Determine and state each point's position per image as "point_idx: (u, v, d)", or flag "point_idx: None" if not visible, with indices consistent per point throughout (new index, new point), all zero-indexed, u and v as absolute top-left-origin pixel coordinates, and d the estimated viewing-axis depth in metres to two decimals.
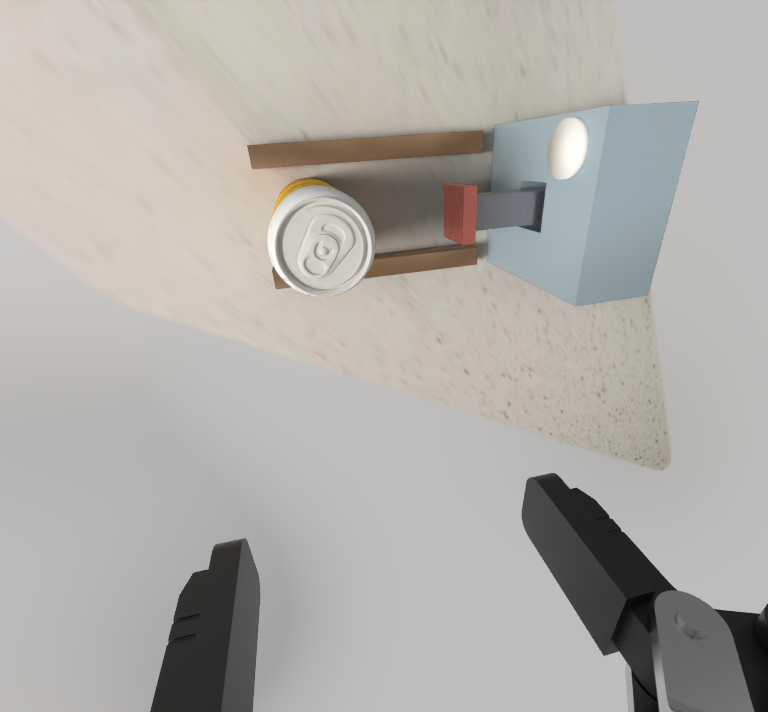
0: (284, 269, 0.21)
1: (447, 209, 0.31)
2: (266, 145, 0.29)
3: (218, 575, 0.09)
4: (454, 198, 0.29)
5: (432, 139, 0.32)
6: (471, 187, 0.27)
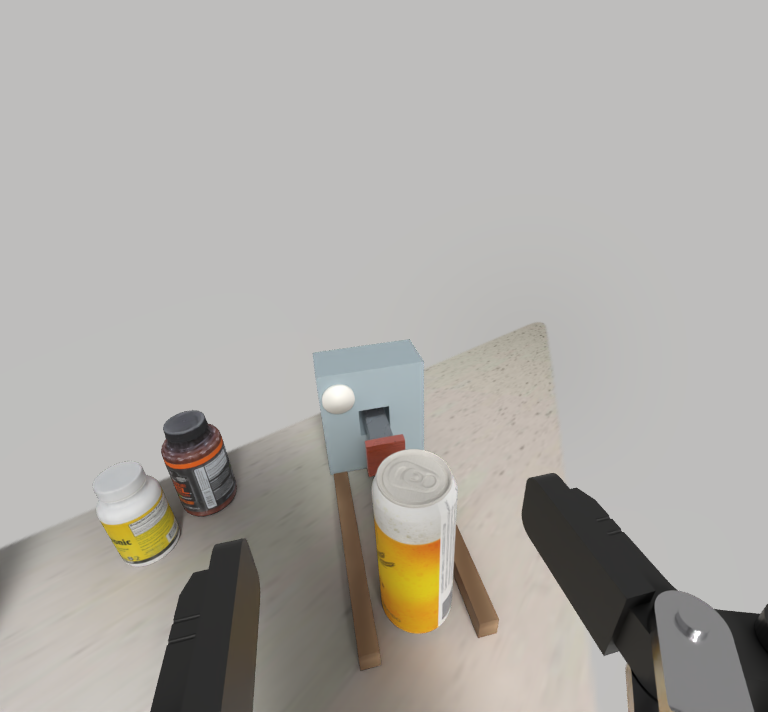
0: None
1: None
2: (356, 636, 0.30)
3: (218, 575, 0.09)
4: (375, 458, 0.40)
5: (341, 502, 0.41)
6: (366, 443, 0.39)
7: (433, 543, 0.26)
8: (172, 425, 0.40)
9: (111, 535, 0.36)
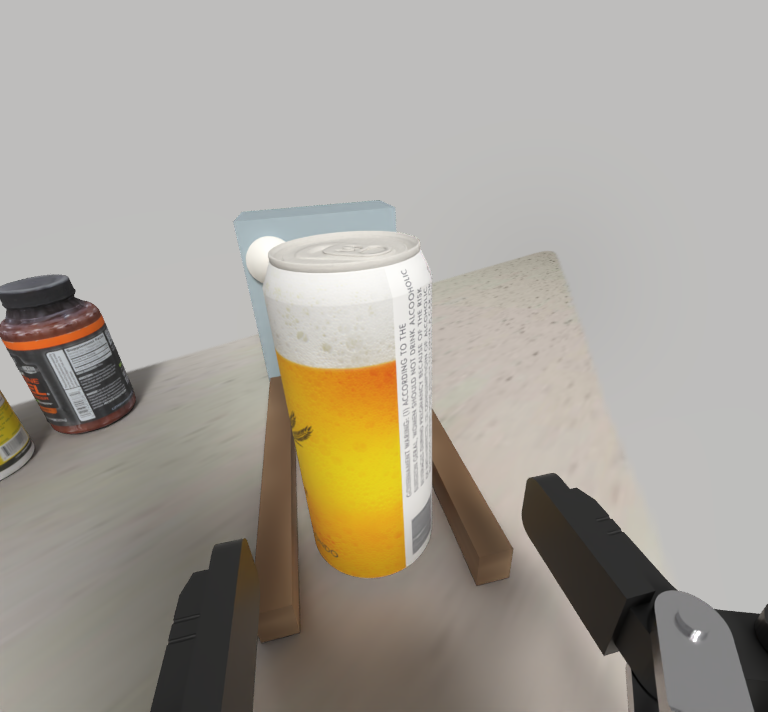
0: None
1: None
2: None
3: (218, 575, 0.09)
4: None
5: (273, 406, 0.28)
6: None
7: (381, 368, 0.13)
8: (12, 285, 0.26)
9: None
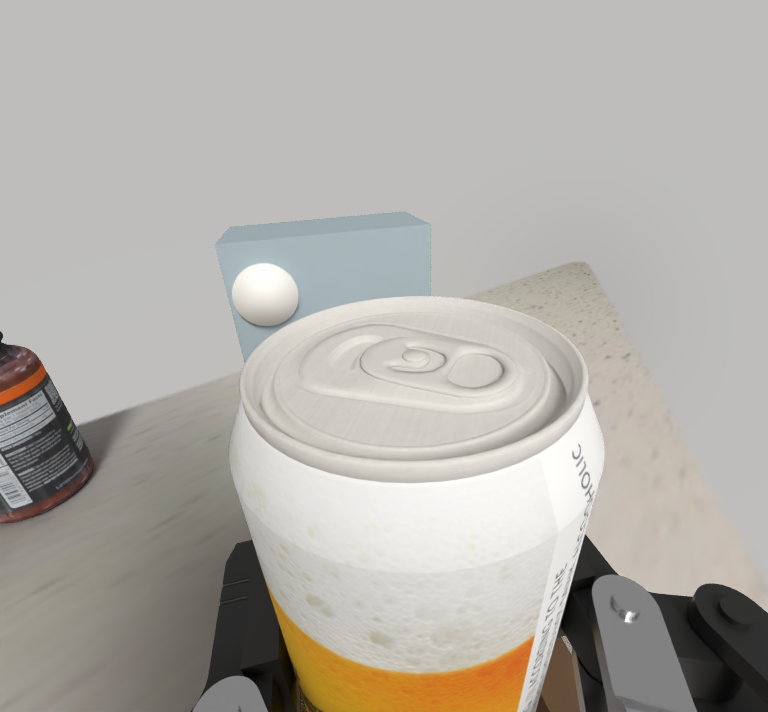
0: None
1: None
2: None
3: None
4: None
5: None
6: None
7: (503, 661, 0.05)
8: None
9: None
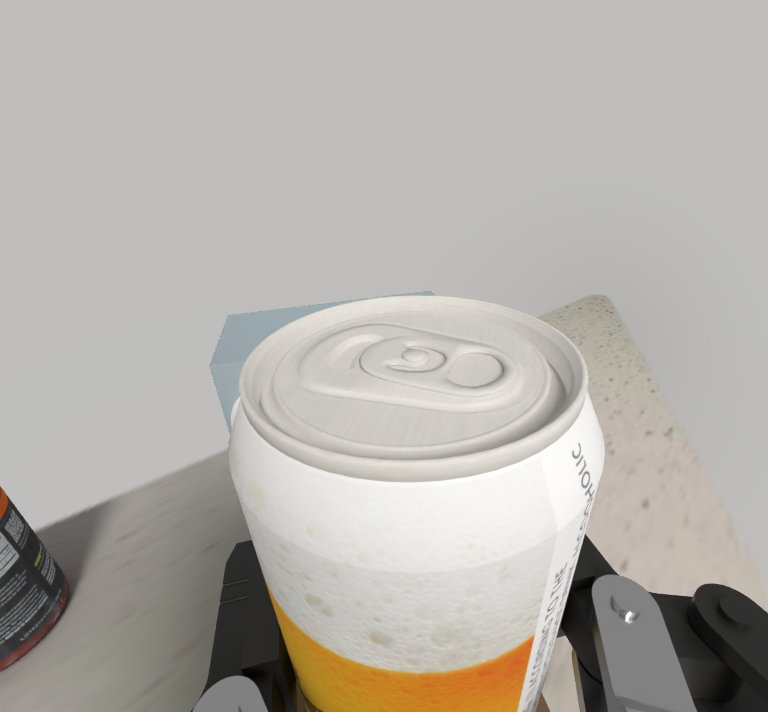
0: None
1: None
2: None
3: None
4: None
5: None
6: None
7: (503, 660, 0.05)
8: None
9: None
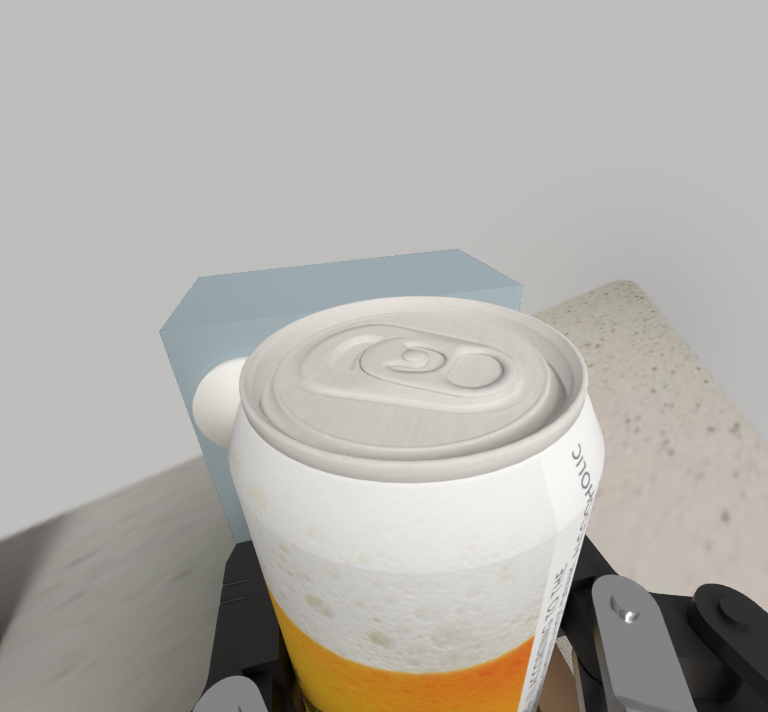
0: None
1: None
2: None
3: None
4: None
5: None
6: None
7: (503, 661, 0.05)
8: None
9: None
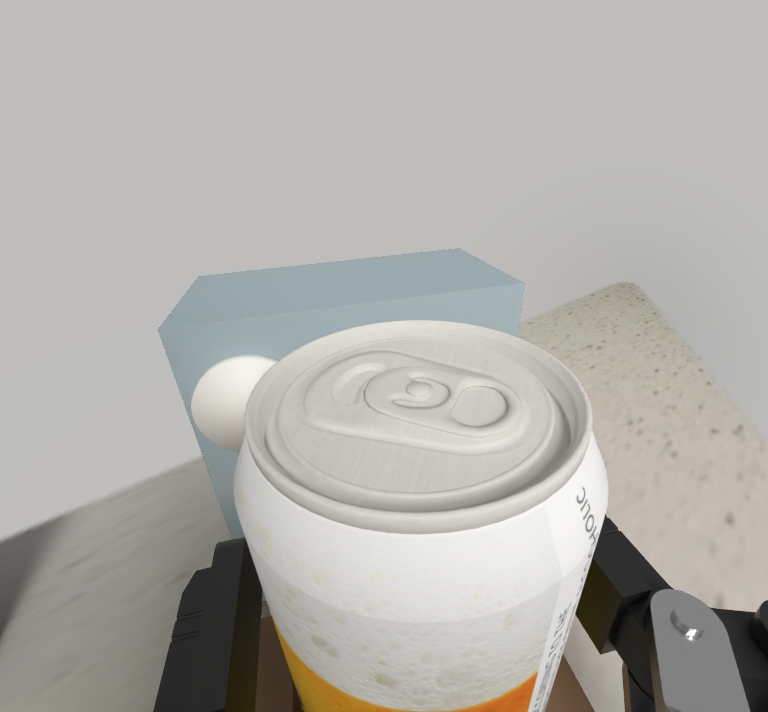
0: None
1: None
2: None
3: (221, 573, 0.09)
4: None
5: None
6: None
7: (507, 698, 0.05)
8: None
9: None
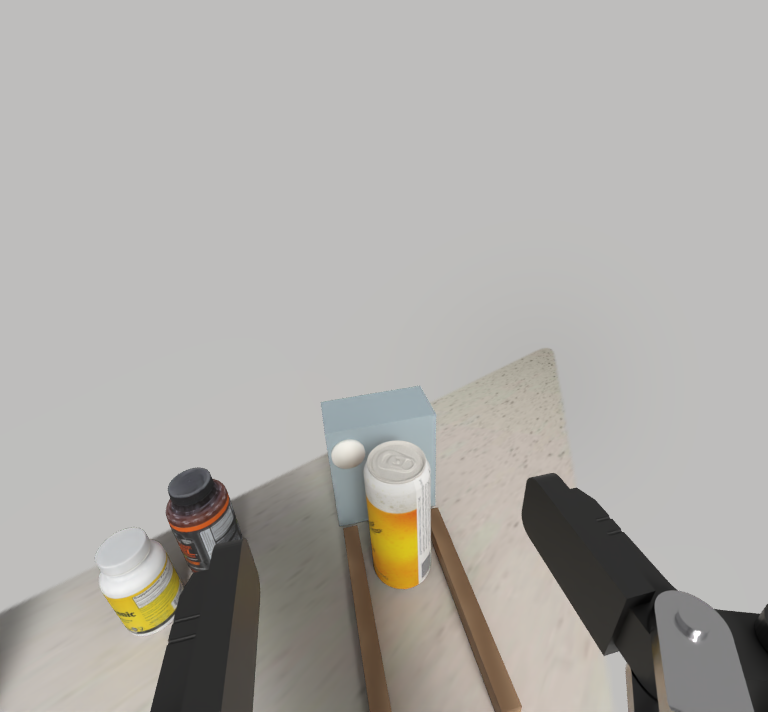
0: (412, 478, 0.33)
1: None
2: None
3: (218, 575, 0.09)
4: None
5: (352, 563, 0.40)
6: None
7: (411, 512, 0.34)
8: (177, 486, 0.38)
9: (114, 607, 0.35)
